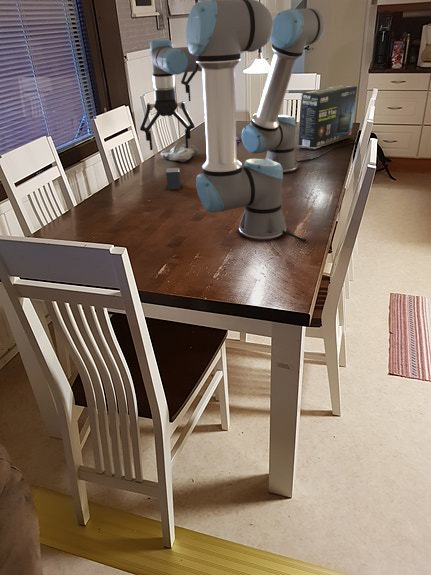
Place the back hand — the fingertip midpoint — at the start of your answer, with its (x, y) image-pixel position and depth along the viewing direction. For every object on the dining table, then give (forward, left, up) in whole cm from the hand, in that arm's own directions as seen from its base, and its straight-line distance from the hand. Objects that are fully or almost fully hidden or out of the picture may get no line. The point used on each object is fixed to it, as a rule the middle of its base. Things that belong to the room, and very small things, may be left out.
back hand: (204, 100), depth 208 cm
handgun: (-29, -35, -28) cm, 53 cm away
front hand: (+30, +36, -10) cm, 48 cm away
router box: (-68, 0, -28) cm, 74 cm away
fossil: (+10, -13, -28) cm, 33 cm away
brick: (+27, +28, -28) cm, 48 cm away
